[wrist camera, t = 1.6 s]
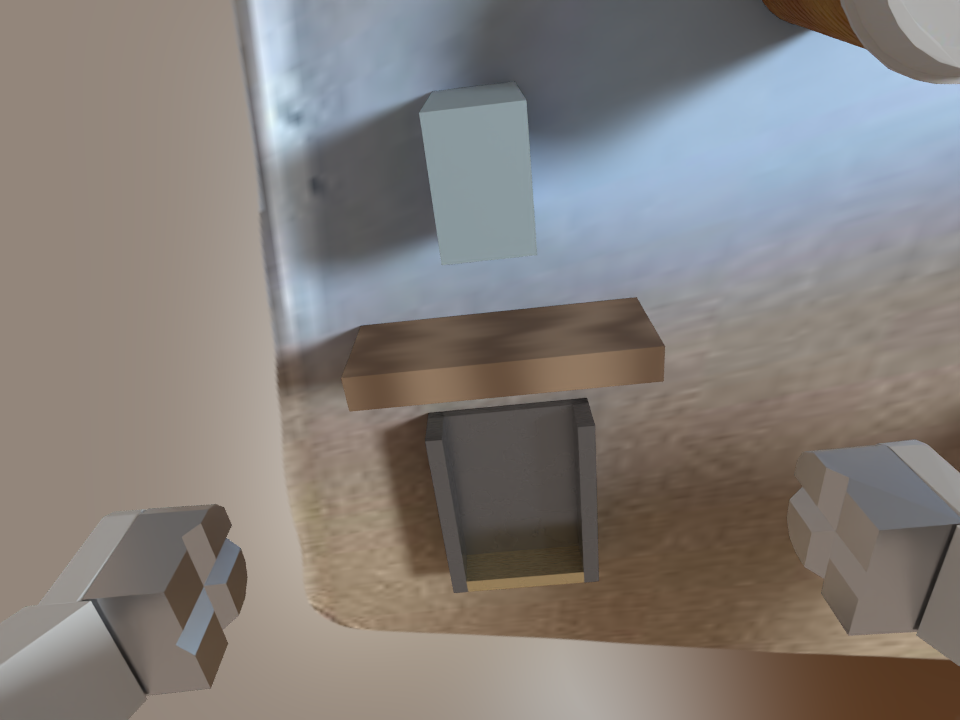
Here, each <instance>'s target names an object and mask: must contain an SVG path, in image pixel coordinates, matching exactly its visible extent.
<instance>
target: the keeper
mask: <svg viewBox="0 0 960 720" xmlns="http://www.w3.org/2000/svg"><path fill="white" fill-rule="evenodd" d="M425 444H426V449H427V455H428V460H429V465H430V470H431V476H432V481H433V486H434V491H435V497H436V502H437V507H438V512H439V518H440V523H441V528H442V533H443V539H444V544H445V549H446V554H447V560H448V565H449V570H450V575H451V581H452V586H453V591H454V593H460V592H472V591H484V590H497V589H509V588H522V587H534V586H546V585H559V584H571V583H584V582H596V581H599V566H598V524H597V483H596V441H595V424H594V420H593V417H592V413H591V410H590V407H589V403H588V400H587V398H582V399H571V400H561V401H550V402H540V403H529V404H519V405H509V406H498V407H488V408H477V409H467V410H456V411H446V412H435V413H428V422H427V430H426V438H425Z"/></svg>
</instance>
